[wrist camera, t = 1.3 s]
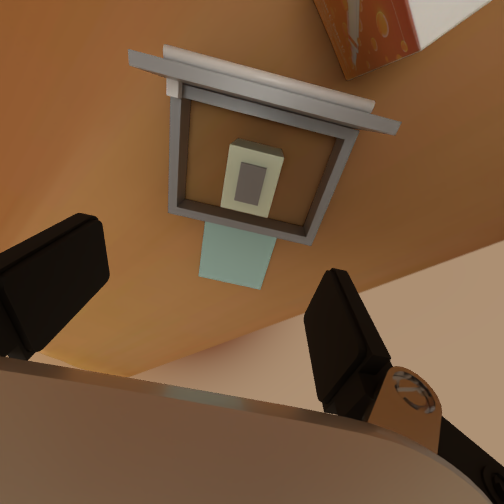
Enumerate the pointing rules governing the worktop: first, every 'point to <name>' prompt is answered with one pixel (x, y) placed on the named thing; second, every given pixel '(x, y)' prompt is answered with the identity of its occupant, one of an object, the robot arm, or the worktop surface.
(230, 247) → the mat
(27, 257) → the robot arm
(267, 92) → the grey open box
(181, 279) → the worktop surface
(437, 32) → the small box
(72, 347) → the worktop surface
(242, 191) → the block
